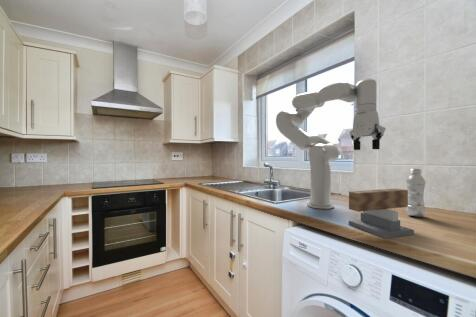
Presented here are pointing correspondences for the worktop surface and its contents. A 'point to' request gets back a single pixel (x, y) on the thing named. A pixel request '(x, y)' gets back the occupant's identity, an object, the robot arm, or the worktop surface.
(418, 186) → the plastic bottle
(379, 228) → the ridge stand
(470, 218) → the worktop surface
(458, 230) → the worktop surface
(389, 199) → the brown wooden block
